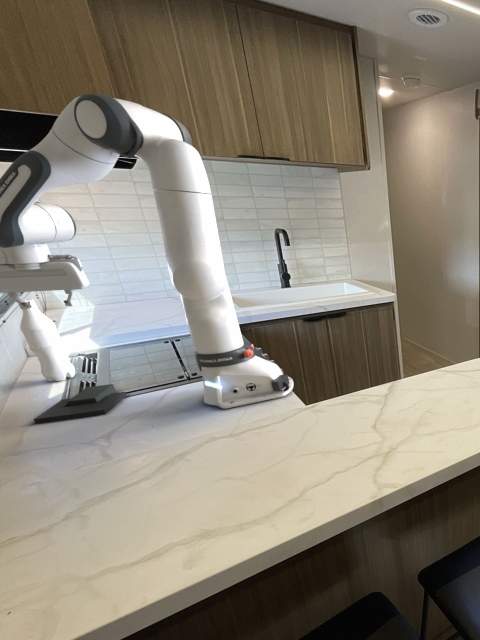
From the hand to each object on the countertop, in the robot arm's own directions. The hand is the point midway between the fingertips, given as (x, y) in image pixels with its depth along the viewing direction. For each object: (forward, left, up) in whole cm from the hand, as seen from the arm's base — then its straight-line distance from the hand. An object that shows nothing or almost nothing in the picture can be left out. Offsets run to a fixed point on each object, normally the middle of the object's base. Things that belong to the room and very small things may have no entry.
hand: (49, 307), depth 111 cm
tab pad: (-8, +13, -24) cm, 28 cm away
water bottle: (+10, -11, -25) cm, 29 cm away
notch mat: (-8, +18, -24) cm, 31 cm away
